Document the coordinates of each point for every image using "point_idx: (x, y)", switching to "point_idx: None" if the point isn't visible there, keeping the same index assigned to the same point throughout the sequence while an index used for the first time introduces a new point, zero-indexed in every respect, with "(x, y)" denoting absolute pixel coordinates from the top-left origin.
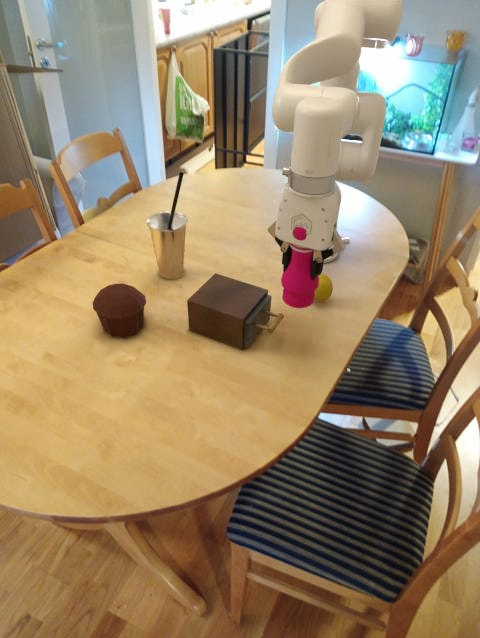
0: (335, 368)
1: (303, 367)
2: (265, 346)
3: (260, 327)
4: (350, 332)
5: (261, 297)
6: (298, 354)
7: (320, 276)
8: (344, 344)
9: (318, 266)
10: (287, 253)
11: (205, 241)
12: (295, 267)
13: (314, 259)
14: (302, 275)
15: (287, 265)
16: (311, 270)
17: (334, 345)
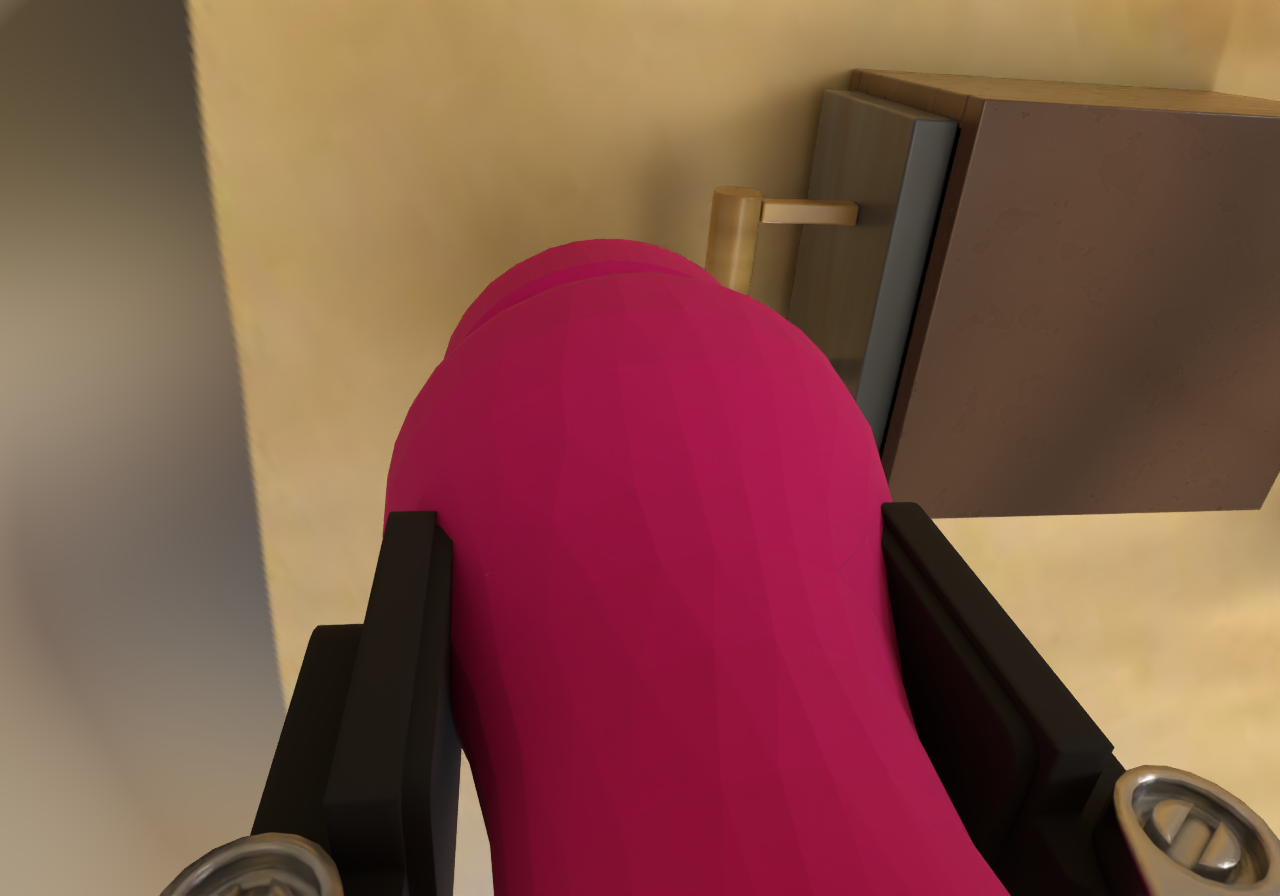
0: (243, 186)
1: (431, 96)
2: (725, 177)
3: (812, 201)
4: (318, 518)
5: (904, 423)
6: (510, 202)
7: None
8: (301, 414)
9: (321, 754)
10: (1054, 782)
11: (1223, 762)
12: (757, 558)
13: (434, 876)
14: (578, 486)
15: (902, 585)
16: (443, 626)
17: (349, 379)
